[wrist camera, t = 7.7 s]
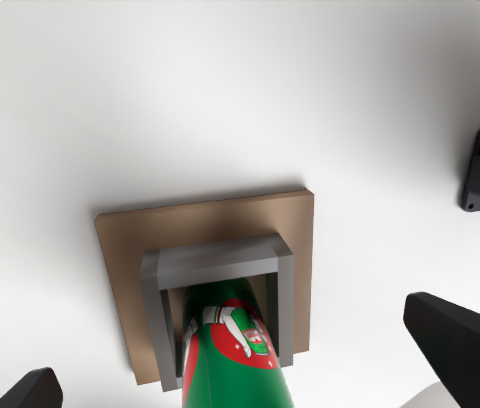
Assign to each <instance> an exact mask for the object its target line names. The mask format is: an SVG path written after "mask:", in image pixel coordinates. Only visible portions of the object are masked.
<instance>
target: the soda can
mask: <svg viewBox="0 0 480 408" xmlns="http://www.w3.org/2000/svg"><path fill="white" fill-rule="evenodd" d="M182 408H295V407H294V404H293V401H292V398H291V395H290V392H289V390H288V387H287V384H286V381H285V378H284V376H283V373H282V370H281V367H280V364H279V361H278V359H277V356H276V353H275V350H274V347H273V344H272V342H271V339H270V336H269V333H268V330H267V328H266V325H265V322H264V319H263V316H262V313H261V311H260V308H259V305H258V302H257V299H256V296H255V294H254V291H253V288H252V286H251V284H250V283H249V281H248V280H247V279H246V278H245V277H240V278H233V279H227V280H221V281H214V282H208V283H202V284H195V285H189V287H188V288H187V289H186V291H185V293H184V296H183V301H182Z"/></svg>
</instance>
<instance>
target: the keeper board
mask: <svg viewBox="0 0 480 408" xmlns="http://www.w3.org/2000/svg"><path fill="white" fill-rule="evenodd" d="M313 216H314V194H313V193H312V192H311V191H309V190H303V191H294V192H286V193H277V194H269V195H260V196H252V197H244V198H235V199H227V200H218V201H210V202H201V203H193V204H185V205H176V206H168V207H159V208H151V209H142V210H134V211H126V212H117V213H109V214H100V215H98V216H97V218H96V219H95V225H96V229H97V233H98V237H99V241H100V244H101V248H102V252H103V256H104V260H105V263H106V267H107V271H108V275H109V279H110V283H111V286H112V290H113V294H114V298H115V302H116V305H117V309H118V313H119V317H120V321H121V325H122V328H123V332H124V336H125V340H126V344H127V347H128V351H129V355H130V359H131V363H132V367H133V370H134V374H135V378H136V382H137V385H142V384H147V383H152V382H157V381H161V385H162V389H163V392H166V391H171V390H176V389H181V388H182V301H183V296H184V293H185V291H186V289H187V288H188V287H189V285H195V284H202V283H208V282H214V281H221V280H227V279H233V278H240V277H245V278H246V279H247V280H248V281H249V283H250V284H251V286H252V288H253V291H254V294H255V296H256V299H257V302H258V305H259V308H260V311H261V313H262V316H263V319H264V322H265V325H266V328H267V330H268V333H269V336H270V339H271V342H272V344H273V347H274V350H275V353H276V356H277V359H278V361H279V364H280V367H281V368H282V367H286V366H291V365H293V354H295V353H300V352H305V351H309V334H310V304H311V275H312V245H313Z"/></svg>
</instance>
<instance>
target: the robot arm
mask: <svg viewBox="0 0 480 408" xmlns="http://www.w3.org/2000/svg"><path fill="white" fill-rule="evenodd" d="M461 209H462V210H464V211H466V212H475V211H480V131H479V132H478V134H477V138H476V143H475V147H474V151H473V156H472V160H471V164H470V169H469V173H468V178H467V182H466V186H465V191H464V195H463V199H462V204H461ZM403 320H404V324H405V326H406V328H407V330H408V331H409V333H410V334H411V336H412V337H413V339H414V341H415V342H416V344H417V345H418V347H419V348H420V350H421V351H422V353H423V355H424V356H425V358H426V359H427V361H428V362H429V364H430V365H431V367H432V369H433V370H434V372H435V373H436V375H437V376H438V378H439V379H440V381H441V382H442V383H443V385H444V386H445V388H446V389H447V390H448V391H449V393H450V394H451V396H452V397H453V398H454V399H455V401H456V402H457V403H458V405H459V406H460V407H461V408H480V314H479V313H477V312H474V311H472V310H469V309H466V308H464V307H461V306H459V305H456V304H454V303H451V302H449V301H446V300H444V299H441V298H439V297H436V296H434V295H431V294H429V293H426V292H416V293H411V294H408V296H407V297H406V302H405V308H404V315H403ZM62 402H63V393H62V389H61V387H60V385H59V382H58V380H57V378H56V375H55V373H54V371H53V369H51V368H50V367H46V368H41V369H36V370H32V371H30V372H28V373H27V374H26V375H25V376H24V377H23V378H22V379H21V380H19V381H18V382H17V383H16V384H15V385H14V386H13V387H12V388H11V389H10V390H9V391H8V392H7V393H6V394H4V395H3V396H2V397H1V398H0V408H61V407H62Z"/></svg>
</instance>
